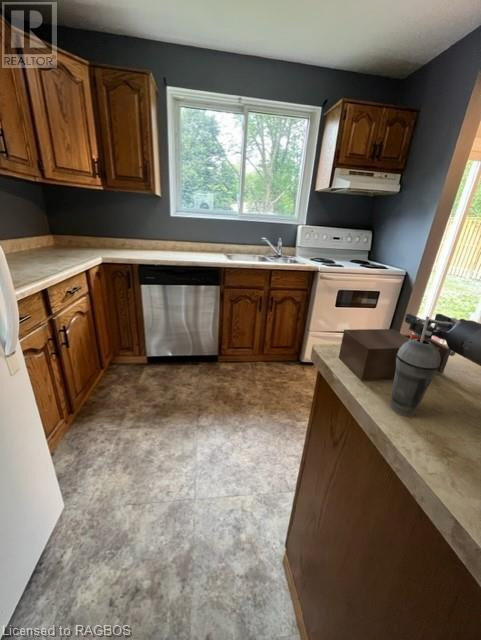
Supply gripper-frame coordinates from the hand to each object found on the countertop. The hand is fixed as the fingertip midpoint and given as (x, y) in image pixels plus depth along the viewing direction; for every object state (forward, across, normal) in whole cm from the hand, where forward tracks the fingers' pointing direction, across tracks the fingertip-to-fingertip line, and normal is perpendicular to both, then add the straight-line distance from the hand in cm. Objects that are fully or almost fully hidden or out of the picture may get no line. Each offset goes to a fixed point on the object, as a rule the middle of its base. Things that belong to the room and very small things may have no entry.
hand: (421, 317), depth 70 cm
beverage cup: (-18, +15, +14) cm, 27 cm away
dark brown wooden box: (-1, +11, +14) cm, 17 cm away
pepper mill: (-1, 0, +12) cm, 12 cm away
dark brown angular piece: (-1, 0, +13) cm, 13 cm away
